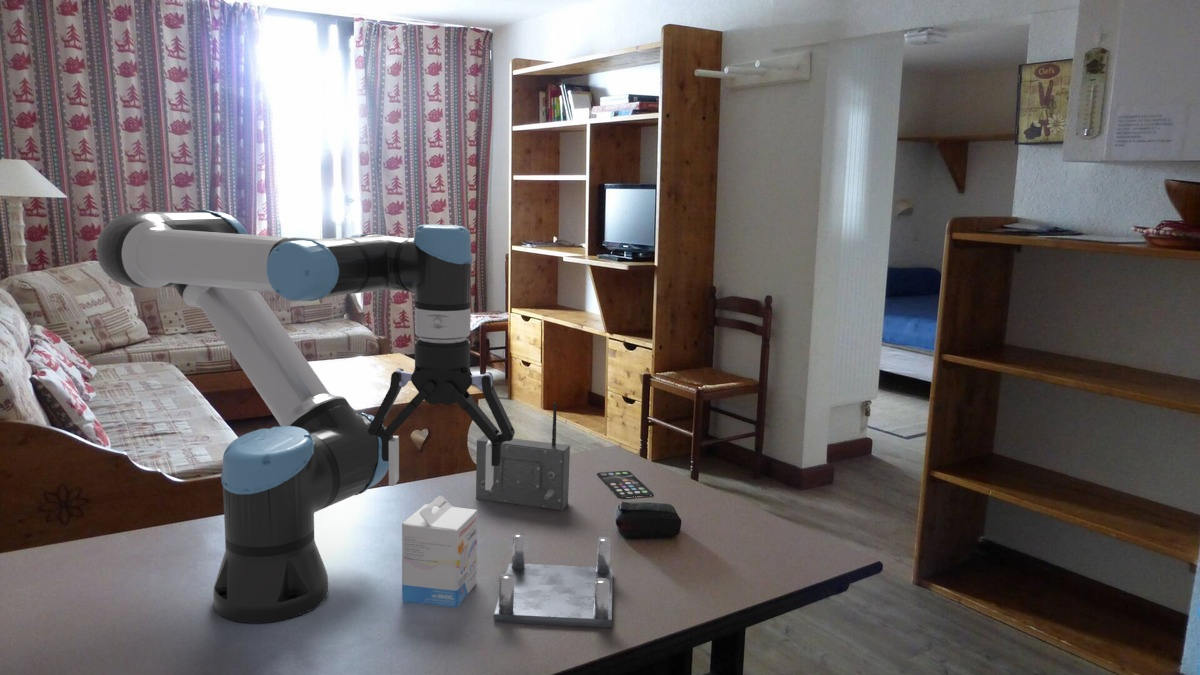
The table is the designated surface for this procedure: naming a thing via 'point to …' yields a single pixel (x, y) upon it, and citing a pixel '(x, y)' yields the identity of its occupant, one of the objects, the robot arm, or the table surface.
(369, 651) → the table surface
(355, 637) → the table surface
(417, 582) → the ink box
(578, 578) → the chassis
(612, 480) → the smartphone
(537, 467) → the electronic device
